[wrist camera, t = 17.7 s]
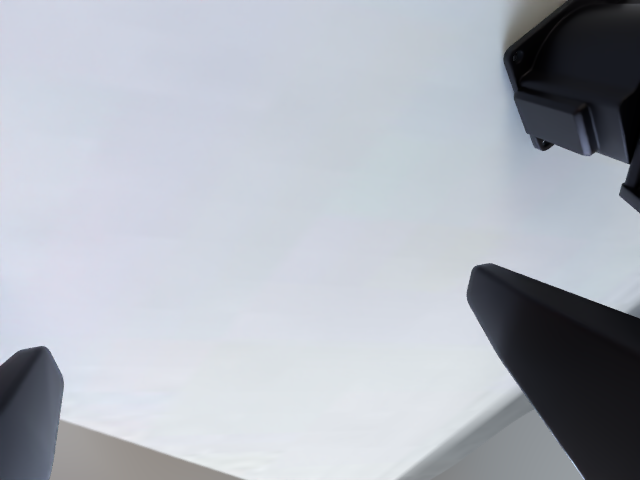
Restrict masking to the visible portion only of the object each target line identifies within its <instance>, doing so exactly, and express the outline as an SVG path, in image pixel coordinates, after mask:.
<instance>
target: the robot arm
mask: <svg viewBox="0 0 640 480" xmlns="http://www.w3.org/2000/svg"><path fill="white" fill-rule="evenodd" d="M516 52H517V57H516V59H515V60H514V61H513V57H514V55H515V53H516ZM503 60H504V64H505V67H506V70H507V73H508V75H509V78H510V81H511V84H512V87H513V89H514V92H515V93H514V100H515V103H516V106H517V108H518V111H519V114H520V117H521V119H522V122H523V125H524V128H525V130H526V133H527V134H530V137H531V139H532V142H533V145H534V147H535V148H537V149H539V150H542V151H546V150H547V149H549V148H550V147H552V146H553V145H554V144H555V145H558V146H560V147H563V148H565V149H568V150H571V151H573V152H576V153H578V154H581V155H585V156H590V155H592V154H593V153H595V152H597V153H600V154H603V155H606V156H608V157H611V158H614V159H616V160H619V161H622V162H625V163H627V164H630V167H629V171H628V174H627V178H626V181H625V183H622V186H621V190H620V193H619V196H620V197H622V198H623V199H624V200H625V201H626V202H627V203H629V204H630V205H631V206H632V207H633V208H634V209H636V210H637V211H638V212H639V213H640V0H568V1H567V2H565V3H564V4H563V5H562V6H560V7H559V8H558V9H557V10H555V11H554V12H553V13H552V14H550V15H549V16H548V17H547V18H545V19H544V20H543V21H542V22H540V23H539V24H538V25H537V26H535V27H534V28H533V29H532V30H530V31H529V32H528V33H527V34H525V35H524V36H523V37H522V38H520V39H519V40H518V41H517V42H515V43H514V44H513V45H512V46H510V47H509V48H508V49H507V50H506V52H505V54H504V59H503ZM544 140H545V141H544ZM543 141H544V142H543ZM467 300H468V303H469V305H470V307H471V309H472V311H473V312H474V314H475V316H476V318H477V320H478V321H479V323H480V325H481V327H482V328H483V330H484V332H485V334H486V336H487V337H488V339H489V341H490V343H491V344H492V346H493V348H494V350H495V351H496V353H497V355H498V356H499V358H500V359H501V361H502V363H503V364H504V366H505V367H506V368H507V370H508V371H509V373H510V374H511V376H512V377H513V378H514V380H515V381H516V383H517V384H518V386H519V387H520V388H521V390H522V391H523V393H524V394H525V396H526V397H527V398H528V400H529V401H530V403H531V404H532V406H533V407H534V408H535V410H536V411H537V413H538V414H539V416H540V417H541V418H542V420H543V421H544V423H545V424H546V426H547V427H548V428H549V430H550V431H551V433H552V434H553V436H554V437H555V438H556V440H557V441H558V443H559V444H560V446H561V447H562V448H563V450H564V451H565V453H566V454H567V456H568V457H569V458H570V460H571V461H572V462H573V464H574V465H575V467H576V468H577V470H578V471H579V473H580V474H581V475H582V477H583V478H584V480H640V319H639V318H637V317H634V316H631V315H629V314H626V313H623V312H621V311H618V310H615V309H613V308H610V307H607V306H605V305H602V304H599V303H597V302H594V301H591V300H589V299H586V298H583V297H581V296H578V295H575V294H572V293H570V292H567V291H564V290H562V289H559V288H556V287H554V286H551V285H548V284H546V283H543V282H540V281H538V280H535V279H532V278H530V277H527V276H524V275H522V274H519V273H516V272H514V271H511V270H508V269H506V268H503V267H500V266H498V265H495V264H491V263H488V264H482V265H477V266H475V267H474V268H473V269H472V272H471V276H470V280H469V285H468V289H467ZM63 388H64V381H63V376H62V374H61V372H60V370H59V368H58V366H57V364H56V362H55V360H54V358H53V356H52V354H51V352H50V351H49V349H48V348H46V347H44V346H39V347H33V348H28V349H23V350H20V351H18V352H17V353H15V354H14V355H13V356H12V357H10V358H9V359H8V360H7V361H6V362H4V363H3V364H2V365H1V366H0V480H49V479H50V475H51V470H52V466H53V460H54V454H55V445H56V439H57V432H58V425H59V418H60V410H61V403H62V396H63Z"/></svg>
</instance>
